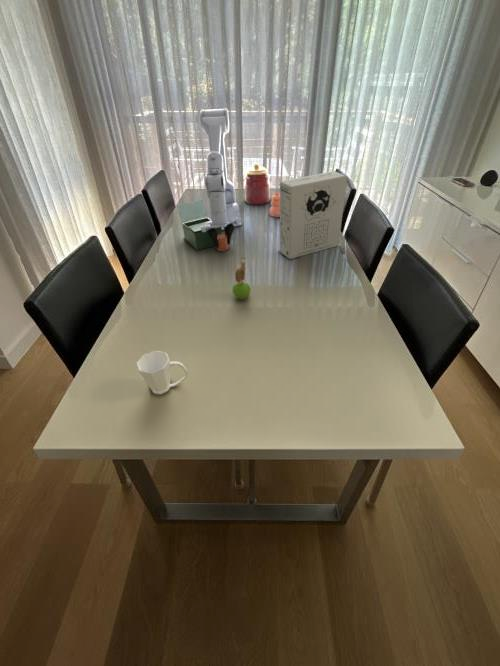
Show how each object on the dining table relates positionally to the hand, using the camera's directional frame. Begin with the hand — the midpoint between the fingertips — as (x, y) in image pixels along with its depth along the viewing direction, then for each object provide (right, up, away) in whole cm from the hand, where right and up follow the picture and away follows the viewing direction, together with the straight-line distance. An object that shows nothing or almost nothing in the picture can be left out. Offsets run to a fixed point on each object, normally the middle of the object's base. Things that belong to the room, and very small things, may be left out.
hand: (222, 245), depth 130 cm
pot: (0, -1, +1) cm, 1 cm away
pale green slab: (-13, +16, +7) cm, 21 cm away
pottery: (+29, +21, +27) cm, 45 cm away
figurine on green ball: (+9, -23, -26) cm, 36 cm away
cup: (-8, -46, -54) cm, 71 cm away
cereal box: (+33, -2, -3) cm, 33 cm away
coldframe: (-8, +4, +8) cm, 12 cm away
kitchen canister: (+15, +34, +43) cm, 57 cm away
